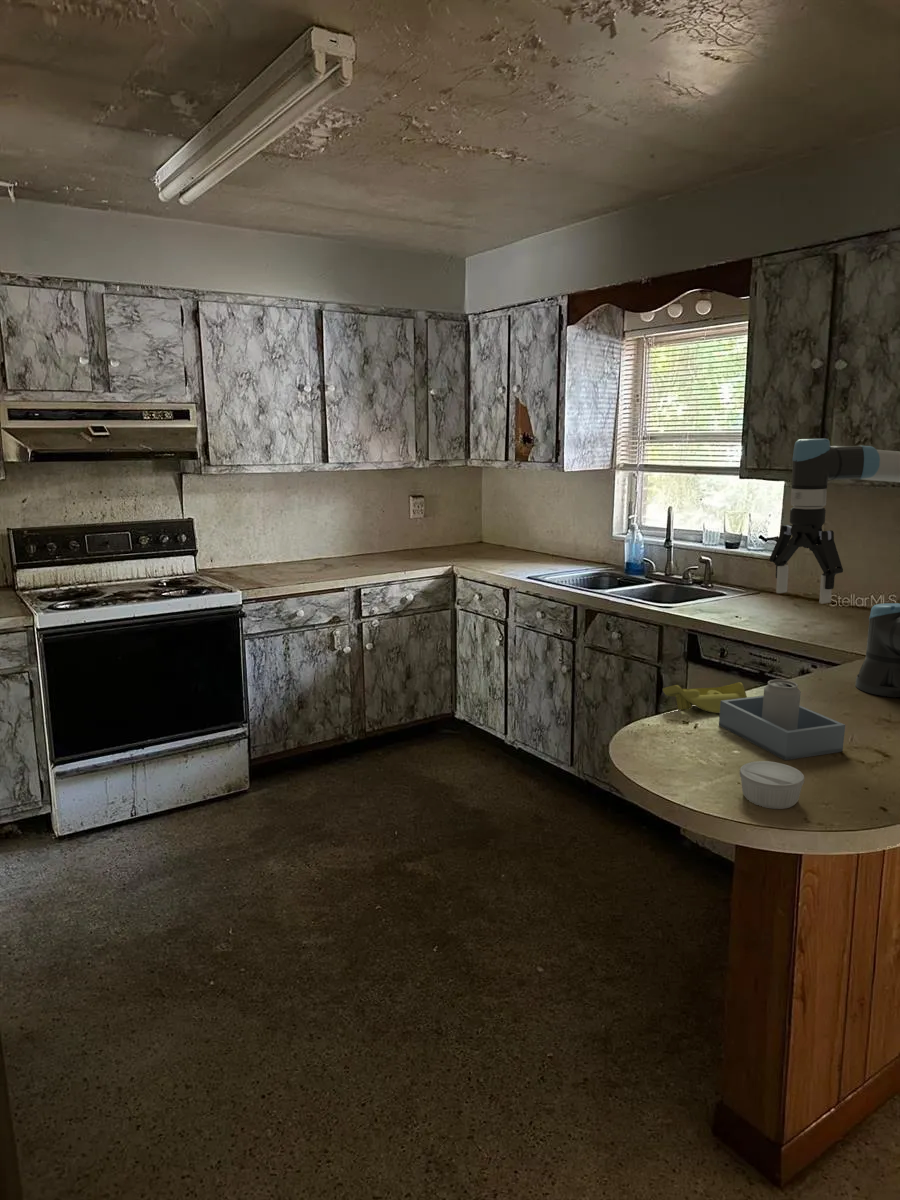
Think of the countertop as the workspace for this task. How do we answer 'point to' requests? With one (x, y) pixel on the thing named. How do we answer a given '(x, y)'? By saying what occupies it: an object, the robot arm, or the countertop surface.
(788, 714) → the can
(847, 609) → the countertop surface
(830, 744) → the bin
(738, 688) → the plastic component
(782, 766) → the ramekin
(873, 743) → the countertop surface
